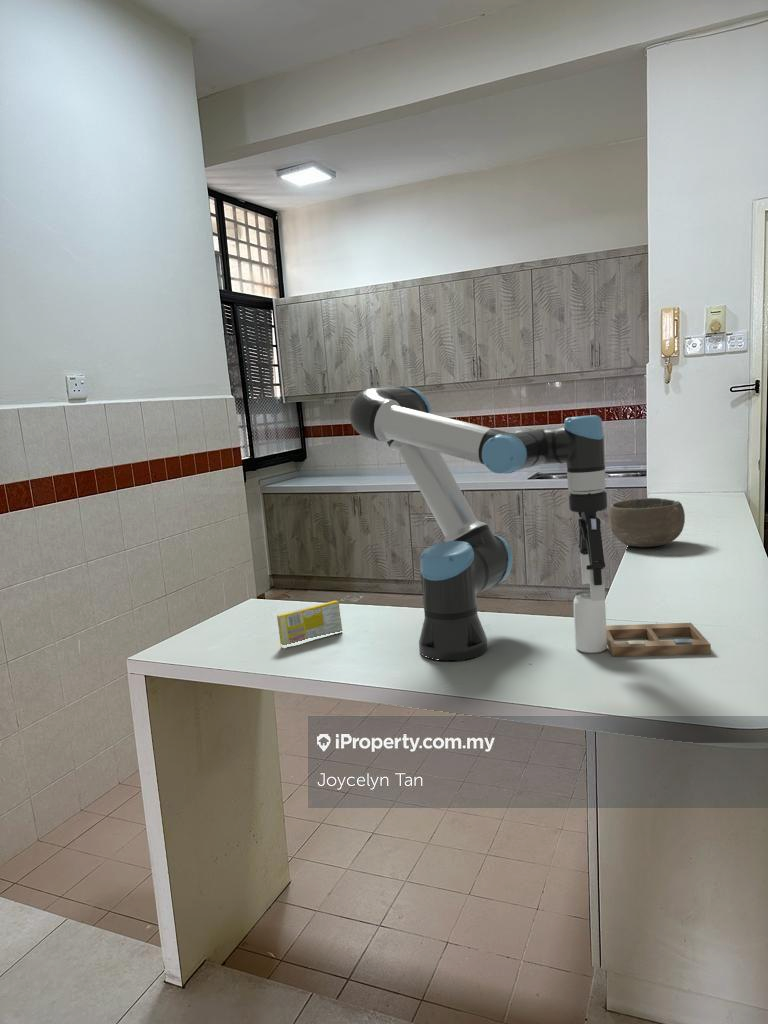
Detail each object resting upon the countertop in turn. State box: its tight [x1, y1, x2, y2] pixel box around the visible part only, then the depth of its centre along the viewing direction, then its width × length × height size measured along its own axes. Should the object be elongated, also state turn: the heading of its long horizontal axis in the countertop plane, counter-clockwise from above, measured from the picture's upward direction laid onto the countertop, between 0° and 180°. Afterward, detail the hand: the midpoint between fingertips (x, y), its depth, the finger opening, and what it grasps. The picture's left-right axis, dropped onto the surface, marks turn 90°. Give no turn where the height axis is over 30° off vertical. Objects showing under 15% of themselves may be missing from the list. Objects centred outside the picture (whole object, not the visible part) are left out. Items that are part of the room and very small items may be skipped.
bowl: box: [608, 497, 686, 548], centre depth 242 cm, size 24×24×15 cm
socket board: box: [606, 622, 712, 658], centre depth 149 cm, size 19×14×2 cm
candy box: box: [276, 600, 343, 645], centre depth 171 cm, size 16×2×8 cm, turn 123°
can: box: [573, 590, 608, 654], centre depth 148 cm, size 6×6×12 cm
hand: (593, 591), depth 147 cm, fingers open, 13 cm apart
